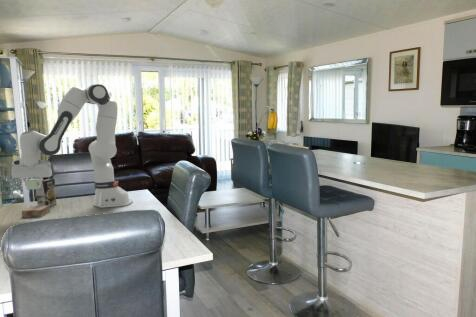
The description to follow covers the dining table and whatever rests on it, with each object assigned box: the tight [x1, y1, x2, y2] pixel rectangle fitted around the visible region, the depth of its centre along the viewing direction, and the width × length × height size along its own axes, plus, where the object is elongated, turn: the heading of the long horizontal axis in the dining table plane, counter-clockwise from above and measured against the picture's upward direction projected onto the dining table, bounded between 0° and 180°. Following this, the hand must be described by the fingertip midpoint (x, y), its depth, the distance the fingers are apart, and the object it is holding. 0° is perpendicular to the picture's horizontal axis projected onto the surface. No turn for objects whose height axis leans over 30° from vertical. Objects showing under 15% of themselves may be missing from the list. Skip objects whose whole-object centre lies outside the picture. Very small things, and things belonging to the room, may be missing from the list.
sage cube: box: [25, 178, 41, 190], centre depth 200 cm, size 5×5×5 cm
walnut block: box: [21, 205, 50, 218], centre depth 202 cm, size 10×10×4 cm
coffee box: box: [35, 178, 57, 208], centre depth 221 cm, size 9×6×16 cm
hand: (33, 185), depth 201 cm, fingers closed on sage cube, 5 cm apart
